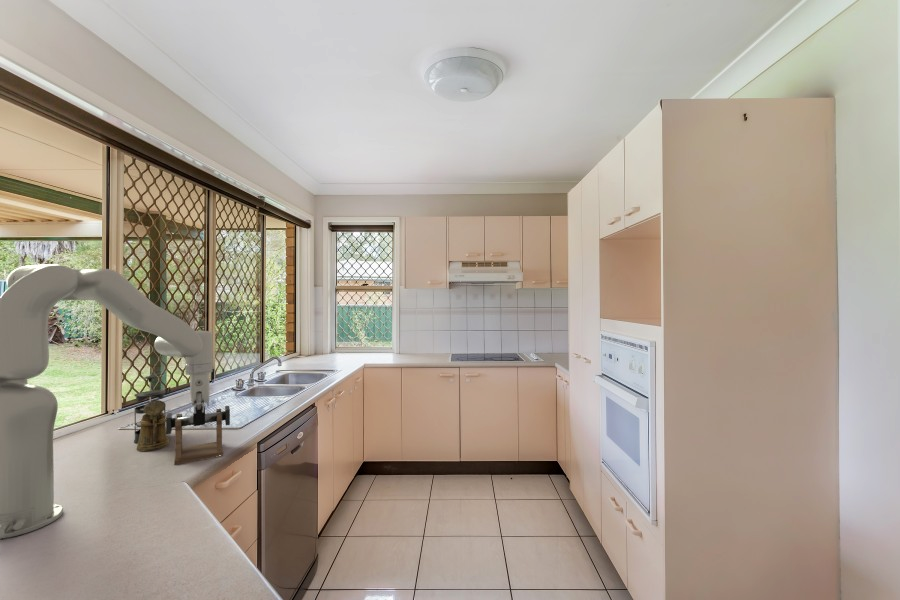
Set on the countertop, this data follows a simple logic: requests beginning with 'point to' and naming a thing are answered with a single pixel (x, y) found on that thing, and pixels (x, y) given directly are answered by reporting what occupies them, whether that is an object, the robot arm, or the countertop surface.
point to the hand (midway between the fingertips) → (199, 421)
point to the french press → (140, 398)
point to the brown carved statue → (153, 427)
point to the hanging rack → (197, 450)
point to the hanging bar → (189, 419)
